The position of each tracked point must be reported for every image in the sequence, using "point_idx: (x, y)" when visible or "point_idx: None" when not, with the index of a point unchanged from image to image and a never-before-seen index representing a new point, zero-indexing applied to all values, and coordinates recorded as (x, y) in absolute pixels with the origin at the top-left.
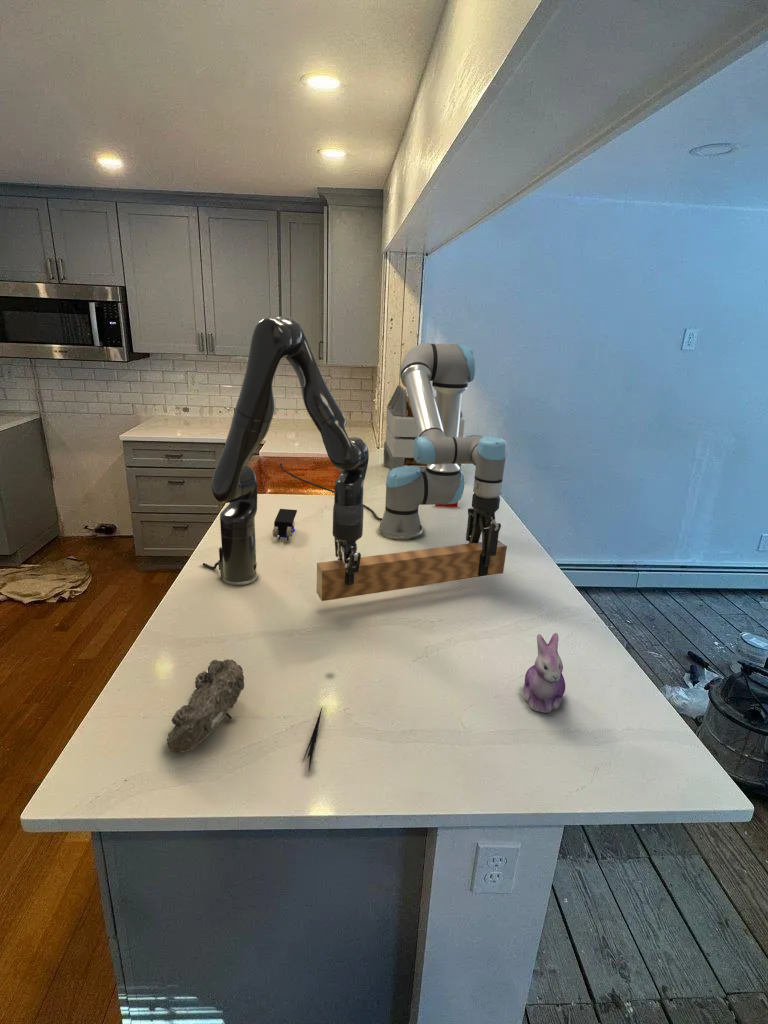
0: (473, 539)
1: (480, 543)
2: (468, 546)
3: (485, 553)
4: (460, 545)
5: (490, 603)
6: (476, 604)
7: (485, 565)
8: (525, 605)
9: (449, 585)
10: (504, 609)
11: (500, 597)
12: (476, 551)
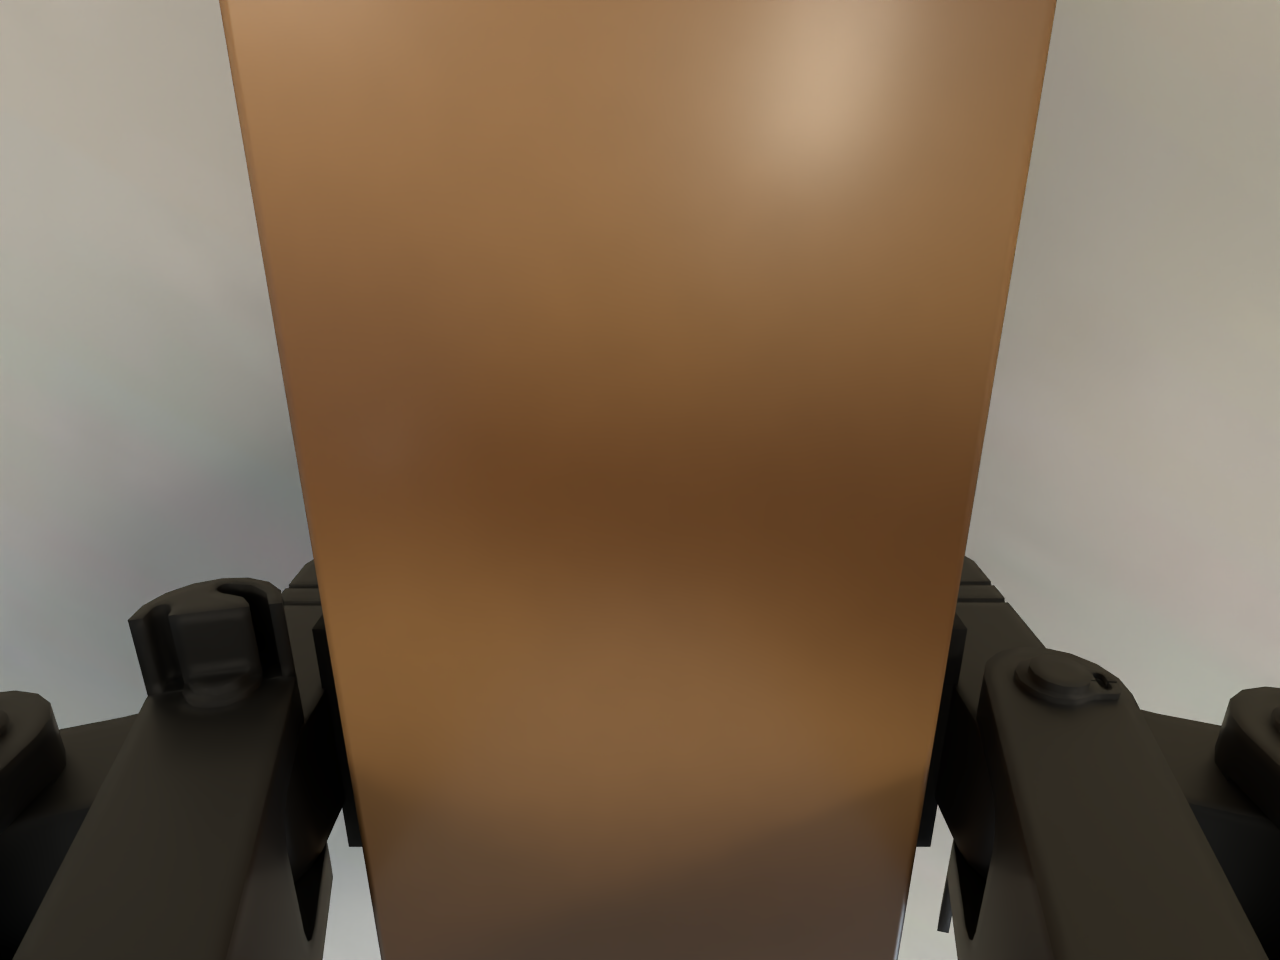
0: (1015, 871)
1: (798, 928)
2: (710, 452)
3: (148, 737)
4: (933, 158)
5: (170, 346)
6: (165, 151)
7: (309, 574)
8: (85, 677)
9: None
10: (8, 426)
11: (297, 534)
12: (322, 547)
